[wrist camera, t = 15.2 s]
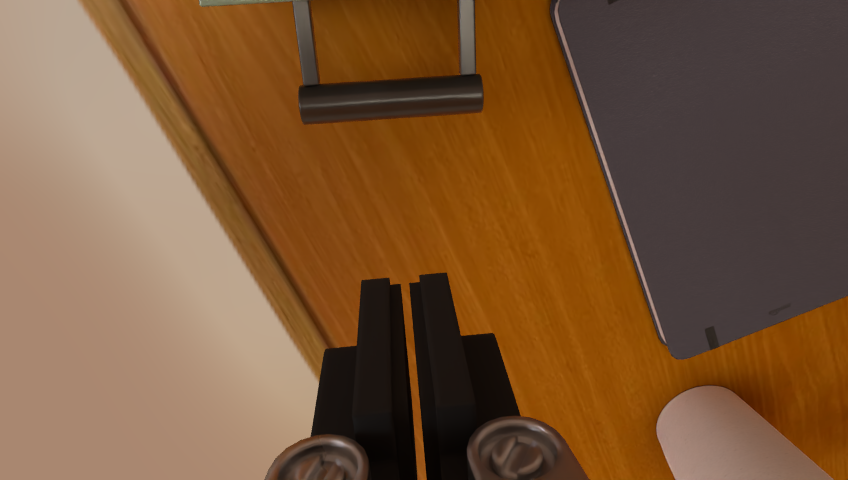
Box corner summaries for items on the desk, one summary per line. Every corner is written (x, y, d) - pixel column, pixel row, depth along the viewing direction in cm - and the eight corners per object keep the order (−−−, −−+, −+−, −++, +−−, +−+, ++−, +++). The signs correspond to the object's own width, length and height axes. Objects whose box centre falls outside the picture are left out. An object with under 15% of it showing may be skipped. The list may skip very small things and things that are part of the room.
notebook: (874, 265, 34) (818, -135, 25) (896, 277, 32) (844, -142, 24) (662, 349, 35) (543, -3, 27) (674, 365, 34) (552, -3, 25)
